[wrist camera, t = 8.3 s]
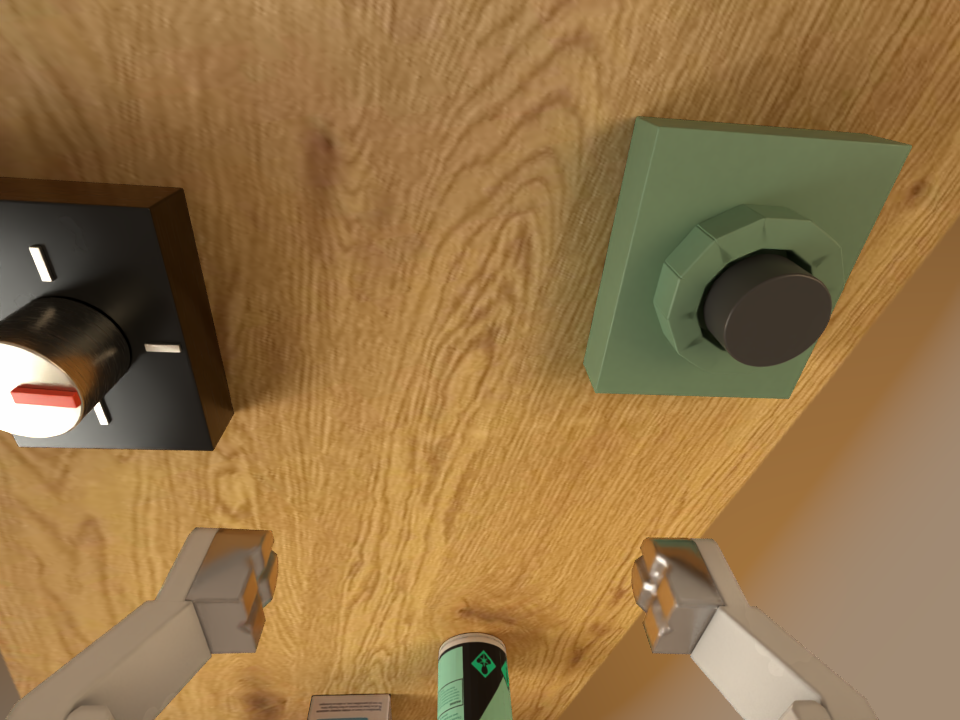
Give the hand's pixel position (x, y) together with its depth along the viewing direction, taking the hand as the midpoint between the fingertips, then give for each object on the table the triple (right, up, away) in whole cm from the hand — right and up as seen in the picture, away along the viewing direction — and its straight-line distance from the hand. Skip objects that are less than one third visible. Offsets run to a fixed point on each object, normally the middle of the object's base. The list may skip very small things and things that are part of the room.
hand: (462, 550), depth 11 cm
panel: (-17, +7, +13) cm, 22 cm away
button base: (+11, +9, +13) cm, 20 cm away
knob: (-17, +5, +10) cm, 20 cm away
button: (+11, +7, +10) cm, 16 cm away
